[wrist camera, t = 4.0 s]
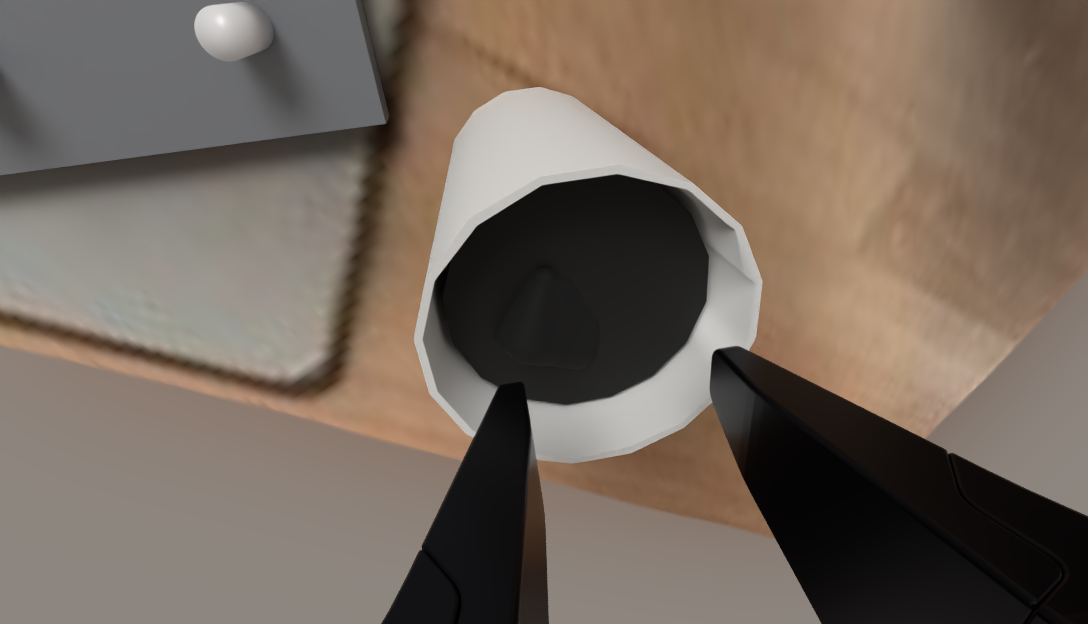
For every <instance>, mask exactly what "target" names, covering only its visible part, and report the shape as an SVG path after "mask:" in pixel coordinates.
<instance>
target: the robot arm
mask: <svg viewBox="0 0 1088 624" xmlns="http://www.w3.org/2000/svg"><path fill="white" fill-rule="evenodd" d="M709 389H710V396H711V400H712V403H713V405H714V408H715V410H716V413H717V415H718V418H719V420H720V423H721V425H722V428H723V430H724V433H725V435H726V438H727V440H728V443H729V445H730V448H731V450H732V453H733V455H734V458H735V460H736V463H737V465H738V467H739V470H740V472H741V474H742V477H743V479H744V481H745V483H746V485H747V487H748V489H749V491H750V493H751V495H752V496H753V498H754V500H755V502H756V504H757V506H758V507H759V509H760V511H761V513H762V515H763V517H764V519H765V520H766V522H767V524H768V526H769V528H770V530H771V531H772V533H773V535H774V537H775V539H776V541H777V542H778V544H779V546H780V548H781V550H782V552H783V554H784V555H785V557H786V559H787V561H788V563H789V565H790V566H791V568H792V570H793V572H794V574H795V576H796V577H797V579H798V581H799V583H800V585H801V587H802V588H803V590H804V592H805V594H806V596H807V598H808V600H809V601H810V603H811V605H812V607H813V609H814V610H815V612H816V614H817V616H818V618H819V620H820V622H821V624H1088V516H1086V515H1084V514H1081V513H1079V512H1077V511H1075V510H1073V509H1070V508H1068V507H1066V506H1064V505H1061V504H1059V503H1057V502H1055V501H1052V500H1050V499H1048V498H1046V497H1044V496H1041V495H1039V494H1037V493H1035V492H1032V491H1030V490H1028V489H1026V488H1024V487H1021V486H1019V485H1017V484H1015V483H1013V482H1011V481H1009V480H1007V479H1005V478H1003V477H1001V476H999V475H997V474H994V473H992V472H990V471H988V470H986V469H984V468H982V467H980V466H978V465H976V464H974V463H972V462H970V461H968V460H966V459H964V458H962V457H960V456H958V455H956V454H954V453H950V454H948V452H947V450H946V449H944V448H942V447H940V446H937V445H936V444H934V443H932V442H930V441H928V440H926V439H924V438H922V437H920V436H918V435H916V434H914V433H912V432H910V431H908V430H906V429H904V428H902V427H900V426H898V425H896V424H894V423H892V422H890V421H888V420H886V419H884V418H882V417H880V416H878V415H876V414H874V413H872V412H870V411H868V410H866V409H864V408H862V407H860V406H858V405H856V404H854V403H852V402H850V401H848V400H846V399H844V398H842V397H840V396H838V395H836V394H834V393H832V392H830V391H828V390H826V389H824V388H822V387H820V386H818V385H816V384H814V383H812V382H810V381H808V380H806V379H804V378H802V377H800V376H798V375H796V374H794V373H792V372H790V371H788V370H786V369H784V368H782V367H780V366H778V365H776V364H774V363H772V362H770V361H768V360H766V359H764V358H762V357H760V356H758V355H756V354H754V353H752V352H750V351H748V350H746V349H744V348H742V347H740V346H731V347H725V348H719V349H716V350H715V351H714V352H713V354H712V360H711V373H710V387H709ZM546 558H547V557H546V529H545V514H544V506H543V499H542V492H541V486H540V479H539V473H538V466H537V460H536V453H535V447H534V440H533V434H532V428H531V421H530V415H529V409H528V403H527V397H526V392H525V386H524V384H523V383H522V382H514V383H508V384H502V385H500V386H499V387H498V388H497V390H496V392H495V394H494V396H493V398H492V401H491V403H490V405H489V407H488V409H487V411H486V413H485V415H484V417H483V419H482V421H481V423H480V426H479V428H478V430H477V432H476V434H475V436H474V438H473V440H472V442H471V444H470V446H469V448H468V451H467V453H466V455H465V457H464V459H463V461H462V463H461V465H460V467H459V469H458V472H457V473H456V476H455V478H454V480H453V482H452V484H451V486H450V488H449V490H448V492H447V494H446V496H445V498H444V501H443V503H442V505H441V507H440V509H439V511H438V513H437V515H436V517H435V519H434V521H433V524H432V526H431V528H430V530H429V532H428V534H427V536H426V538H425V540H424V542H423V544H422V550H420V551H419V552H418V554H417V556H416V558H415V560H414V563H413V565H412V567H411V569H410V571H409V573H408V575H407V577H406V579H405V581H404V583H403V585H402V587H401V589H400V591H399V592H398V594H397V596H396V598H395V600H394V602H393V604H392V606H391V608H390V610H389V612H388V613H387V615H386V617H385V618H384V620H383V622H382V623H381V624H549V616H548V589H547V559H546Z"/></svg>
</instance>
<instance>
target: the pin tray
mask: <svg viewBox="0 0 1088 624" xmlns="http://www.w3.org/2000/svg"><path fill="white" fill-rule="evenodd" d="M388 119H389V112H388V108H387V104H386V100H385V96H384V92H383V88H382V84H381V80H380V75H379V71H378V67H377V63H376V59H375V55H374V51H373V47H372V42H371V38H370V34H369V30H368V26H367V22H366V18H365V14H364V9H363V5H362V1H361V0H0V175H7V174H14V173H22V172H29V171H37V170H44V169H52V168H59V167H67V166H74V165H81V164H89V163H96V162H104V161H111V160H119V159H126V158H134V157H141V156H149V155H156V154H164V153H171V152H179V151H186V150H194V149H201V148H209V147H216V146H224V145H231V144H239V143H246V142H254V141H261V140H268V139H276V138H283V137H291V136H298V135H306V134H313V133H321V132H328V131H336V130H343V129H351V128H358V127H366V126H373V125H381V124H386V123H387V121H388Z"/></svg>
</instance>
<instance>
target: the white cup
mask: <svg viewBox="0 0 1088 624" xmlns="http://www.w3.org/2000/svg"><path fill="white" fill-rule="evenodd" d="M762 282H763V281H762V278H761V276H760V273H759V270H758V267H757V265H756V262H755V259H754V257H753V254H752V251H751V249H750V246H749V243H748V240H747V238H746V235H745V232H744V230H743V227H742V226H741V225H740V224H739V223H738V222H737V221H736V220H735V219H733V218H732V217H731V216H730V215H729V214H728V213H727V212H725V211H724V210H723V209H722V208H721V207H720V206H718V205H717V204H716V203H715V202H714V201H713V200H712V199H710V198H709V197H708V196H707V195H706V194H705V193H704V192H702V191H701V190H700V189H699V188H698V187H697V186H696V185H694V184H693V183H692V182H690V181H689V180H688V179H686V178H685V177H684V176H682V175H681V174H679V173H678V172H677V171H675V170H674V169H672V168H671V167H670V166H668V165H667V164H666V163H664V162H663V161H661V160H660V159H659V158H657V157H656V156H654V155H653V154H652V153H650V152H649V151H648V150H646V149H645V148H643V147H642V146H641V145H639V144H638V143H636V142H635V141H634V140H632V139H631V138H630V137H628V136H627V135H625V134H624V133H623V132H621V131H620V130H618V129H617V128H616V127H614V126H613V125H612V124H610V123H609V122H607V121H606V120H605V119H603V118H602V117H600V116H599V115H598V114H596V113H595V112H594V111H592V110H591V109H589V108H588V107H587V106H585V105H584V104H582V103H581V102H580V101H578V100H577V99H576V98H574V97H573V96H570V95H566V94H563V93H559V92H556V91H553V90H549V89H546V88H542V87H535V88H528V89H521V90H514V91H507V92H504V93H502V94H500V95H499V96H497V97H496V98H494V99H492V100H491V101H489V102H488V103H486V104H484V105H483V106H481V107H480V108H478V109H476V110H475V111H474V112H473V113H472V115H471V116H470V118H469V119H468V121H467V122H466V124H465V125H464V126H463V128H462V129H461V131H460V132H459V134H458V135H457V137H456V138H455V139H454V144H453V149H452V154H451V159H450V164H449V169H448V174H447V179H446V184H445V189H444V193H443V198H442V203H441V208H440V213H439V217H438V222H437V227H436V232H435V237H434V241H433V246H432V251H431V256H430V261H429V266H428V270H427V275H426V280H425V285H424V290H423V295H422V300H421V305H420V310H419V315H418V320H417V325H416V330H415V335H414V342H415V346H416V349H417V353H418V356H419V359H420V363H421V366H422V370H423V373H424V377H425V380H426V383H427V387H428V390H429V394H430V395H431V396H432V397H433V398H434V399H435V400H436V402H437V403H438V404H439V405H440V406H441V407H442V408H443V409H444V410H445V411H446V412H447V413H448V415H449V416H450V417H451V418H452V419H453V420H454V421H455V422H456V423H457V424H458V425H459V427H460V428H461V429H462V430H463V431H464V432H465V433H466V434H467V435H469V436H471V437H474V436H475V434H476V432H477V430H478V428H479V426H480V423H481V421H482V419H483V417H484V415H485V413H486V411H487V409H488V407H489V405H490V403H491V401H492V398H493V396H494V394H495V392H496V390H497V388H498V387H499V386H500V385H502V384H508V383H514V382H522V383H523V384H524V386H525V392H526V397H527V403H528V409H529V415H530V421H531V428H532V434H533V440H534V447H535V453H536V460H544V461H553V462H562V463H572V464H575V463H580V462H586V461H591V460H597V459H602V458H608V457H614V456H619V455H625V454H630V453H633V452H635V451H637V450H639V449H641V448H643V447H645V446H647V445H649V444H651V443H653V442H656V441H658V440H660V439H662V438H664V437H666V436H668V435H670V434H672V433H674V432H676V431H678V430H680V429H682V428H684V427H685V426H687V425H688V424H689V423H690V422H691V421H692V420H693V419H694V418H695V417H696V416H698V415H699V414H700V413H701V412H702V411H703V410H704V409H705V408H706V407H708V406H709V405H710V404H711V403H712V400H711V396H710V389H709V387H710V373H711V360H712V354H713V352H714V351H715V350H716V349H719V348H725V347H731V346H740V347H742V348H744V349H746V350H748V351H749V349H750V348H751V346H752V344H753V342H754V341H755V339H756V333H757V324H758V316H759V308H760V299H761V291H762Z"/></svg>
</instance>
